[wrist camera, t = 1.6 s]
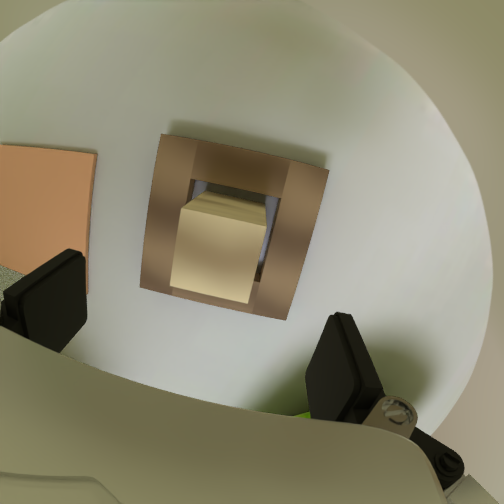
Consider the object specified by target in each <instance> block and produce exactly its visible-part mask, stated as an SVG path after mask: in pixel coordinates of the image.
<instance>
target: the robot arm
mask: <svg viewBox="0 0 504 504" xmlns="http://www.w3.org/2000/svg"><path fill="white" fill-rule="evenodd" d="M3 295H4V300H3V301H2V302H1V300H0V504H499V503H498V502H497V501H496V500H495V499H494V498H493V497H492V496H491V495H490V494H489V493H488V492H487V491H486V490H485V489H484V488H483V487H482V486H481V485H480V484H479V483H478V482H477V481H476V480H475V479H474V478H473V477H472V476H471V475H469V474H468V475H467V476H465V475H464V474H463V473H464V463H463V461H462V459H461V457H460V456H459V455H458V454H457V453H456V452H454V450H452V449H450V448H449V447H447V446H445V445H444V444H442V443H440V442H439V441H437V440H436V439H434V438H432V437H431V436H429V435H428V434H426V433H424V432H423V431H421V430H420V429H418V428H416V427H415V425H416V423H417V419H418V417H417V412H416V411H415V409H414V407H413V406H412V405H411V404H410V403H408V402H407V401H406V400H404V399H402V398H399V397H395V396H385V393H384V391H383V387H382V385H381V382H380V380H379V377H378V375H377V372H376V370H375V368H374V365H373V363H372V360H371V358H370V356H369V353H368V351H367V349H366V346H365V344H364V342H363V339H362V337H361V335H360V333H359V330H358V328H357V326H356V324H355V321H354V319H353V317H352V315H351V314H345V313H340V312H336V313H335V314H334V315H330V316H329V317H328V320H327V322H326V325H325V327H324V330H323V332H322V335H321V337H320V340H319V342H318V344H317V347H316V349H315V352H314V354H313V356H312V359H311V361H310V363H309V365H308V368H307V370H306V375H305V380H306V387H307V395H308V402H309V410H310V418H311V419H310V418H301V417H293V416H285V415H278V414H271V413H265V412H258V411H253V410H247V409H242V408H236V407H231V406H226V405H221V404H217V403H212V402H208V401H203V400H199V399H195V398H191V397H187V396H183V395H179V394H175V393H171V392H168V391H164V390H161V389H157V388H154V387H150V386H147V385H144V384H141V383H137V382H134V381H131V380H128V379H125V378H122V377H119V376H116V375H113V374H110V373H108V372H105V371H102V370H99V369H97V368H94V367H91V366H89V365H86V364H84V363H81V362H79V361H76V360H74V359H71V358H69V357H66V356H64V355H62V354H59V353H60V352H61V351H62V350H63V348H64V347H65V346H66V345H67V344H68V343H69V341H70V340H71V339H72V338H73V337H74V336H75V334H76V333H77V332H78V331H79V330H80V329H81V328H82V326H83V325H84V324H85V323H86V320H87V298H86V259H85V257H84V256H83V254H82V252H81V251H77V250H74V249H70V248H68V249H66V250H64V251H63V252H61V253H59V254H58V255H56V256H55V257H53V258H52V259H50V260H49V261H47V262H45V263H44V264H42V265H41V266H39V267H38V268H36V269H35V270H33V271H32V272H30V273H29V274H27V275H26V276H24V277H23V278H21V279H20V280H19V281H17V282H16V283H14V284H13V285H11V286H10V287H9V288H7V289H6V290H4V291H3Z"/></svg>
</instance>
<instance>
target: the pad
mask: <svg viewBox="0 0 504 504" xmlns="http://www.w3.org/2000/svg"><path fill="white" fill-rule="evenodd" d="M96 160H97V154H93V153H85V152H77V151H68V150H59V149H50V148H39V147H28V146H16V145H0V265H2V266H4V267H7V268H9V269H12V270H14V271H17V272H20V273H22V274H25V275H27V274H29V273H30V272H32V271H33V270H35V269H36V268H38V267H39V266H41V265H42V264H44V263H45V262H47V261H49V260H50V259H52V258H53V257H55V256H56V255H58V254H59V253H61V252H63V251H64V250H66V249H68V248H70V249H74V250H77V251H81V252H82V254H83V256H84V257H85V259H86V295H87V294H88V248H89V227H90V213H91V201H92V191H93V182H94V174H95V167H96Z"/></svg>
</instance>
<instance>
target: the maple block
mask: <svg viewBox="0 0 504 504" xmlns="http://www.w3.org/2000/svg"><path fill="white" fill-rule="evenodd" d="M266 228H267V222H266V210H265V204H264V203H260V202H256V201H251V200H247V199H242V198H238V197H233V196H229V195H224V194H219V193H215V192H210V191H204V192H203V193H201V194H200V195H198V196H197V197H196V198H194V199H193V200H192V201H190V202H189V203H187V204H186V205H185V206H183V207H182V208H181V213H180V218H179V225H178V231H177V237H176V244H175V251H174V257H173V265H172V272H171V280H170V286H173V287H177V288H181V289H185V290H189V291H193V292H198V293H202V294H206V295H211V296H215V297H219V298H224V299H228V300H233V301H238V302H242V303H247V304H248V300H249V297H250V293H251V289H252V285H253V281H254V277H255V273H256V269H257V265H258V261H259V257H260V253H261V249H262V244H263V240H264V236H265V232H266Z"/></svg>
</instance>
